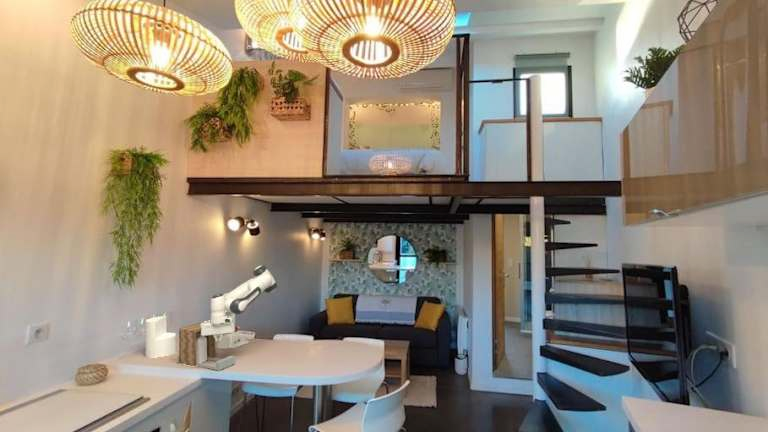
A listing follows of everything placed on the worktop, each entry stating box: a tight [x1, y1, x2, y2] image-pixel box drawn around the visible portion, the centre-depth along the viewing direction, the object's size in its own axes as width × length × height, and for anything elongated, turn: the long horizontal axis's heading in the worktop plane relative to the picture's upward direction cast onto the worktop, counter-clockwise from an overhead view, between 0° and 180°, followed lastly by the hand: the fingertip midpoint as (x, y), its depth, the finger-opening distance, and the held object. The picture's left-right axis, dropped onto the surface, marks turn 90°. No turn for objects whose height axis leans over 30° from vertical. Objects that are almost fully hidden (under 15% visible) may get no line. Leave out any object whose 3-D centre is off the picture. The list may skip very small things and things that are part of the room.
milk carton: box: [196, 333, 208, 364], centre depth 250 cm, size 7×7×19 cm
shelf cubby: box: [178, 322, 217, 367], centre depth 250 cm, size 14×16×24 cm
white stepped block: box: [145, 315, 177, 359], centre depth 268 cm, size 19×19×25 cm
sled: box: [196, 355, 236, 372], centre depth 246 cm, size 32×12×5 cm, turn 65°
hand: (218, 341), depth 242 cm, fingers closed
